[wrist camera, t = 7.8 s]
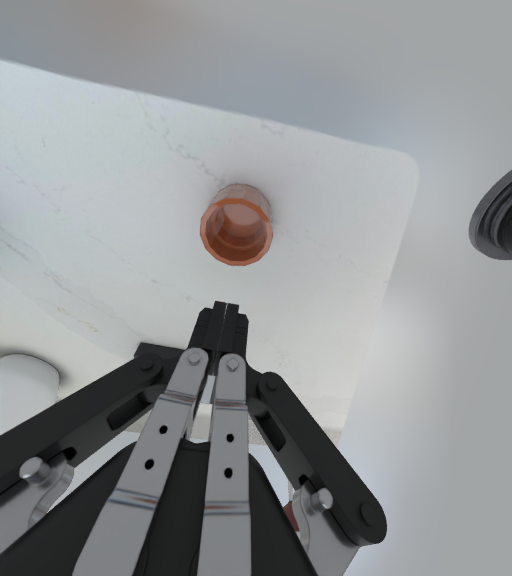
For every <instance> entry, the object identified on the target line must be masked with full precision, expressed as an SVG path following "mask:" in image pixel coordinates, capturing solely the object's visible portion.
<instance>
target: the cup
mask: <svg viewBox="0 0 512 576" xmlns="http://www.w3.org/2000/svg"><path fill="white" fill-rule="evenodd" d="M58 388H59V373H58V372H57V370H56V369H55V368H54V367H52V366H51V365H49V364H48V363H46V362H44V361H42V360H40V359H37V358H35V357H31V356H27V355H23V354H11V355H8V356H5V357H2V358H0V435H2V434H3V433H5V432H7V431H9V430H10V429H12V428H14V427H16V426H17V425H19V424H21V423H23V422H24V421H26V420H28V419H30V418H31V417H33V416H35V415H37V414H38V413H40V412H42V411H44V410H45V409H47V408H49V407H51V406H52V405H53V404H54V403H55V402H56V400H57V398H58Z"/></svg>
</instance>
